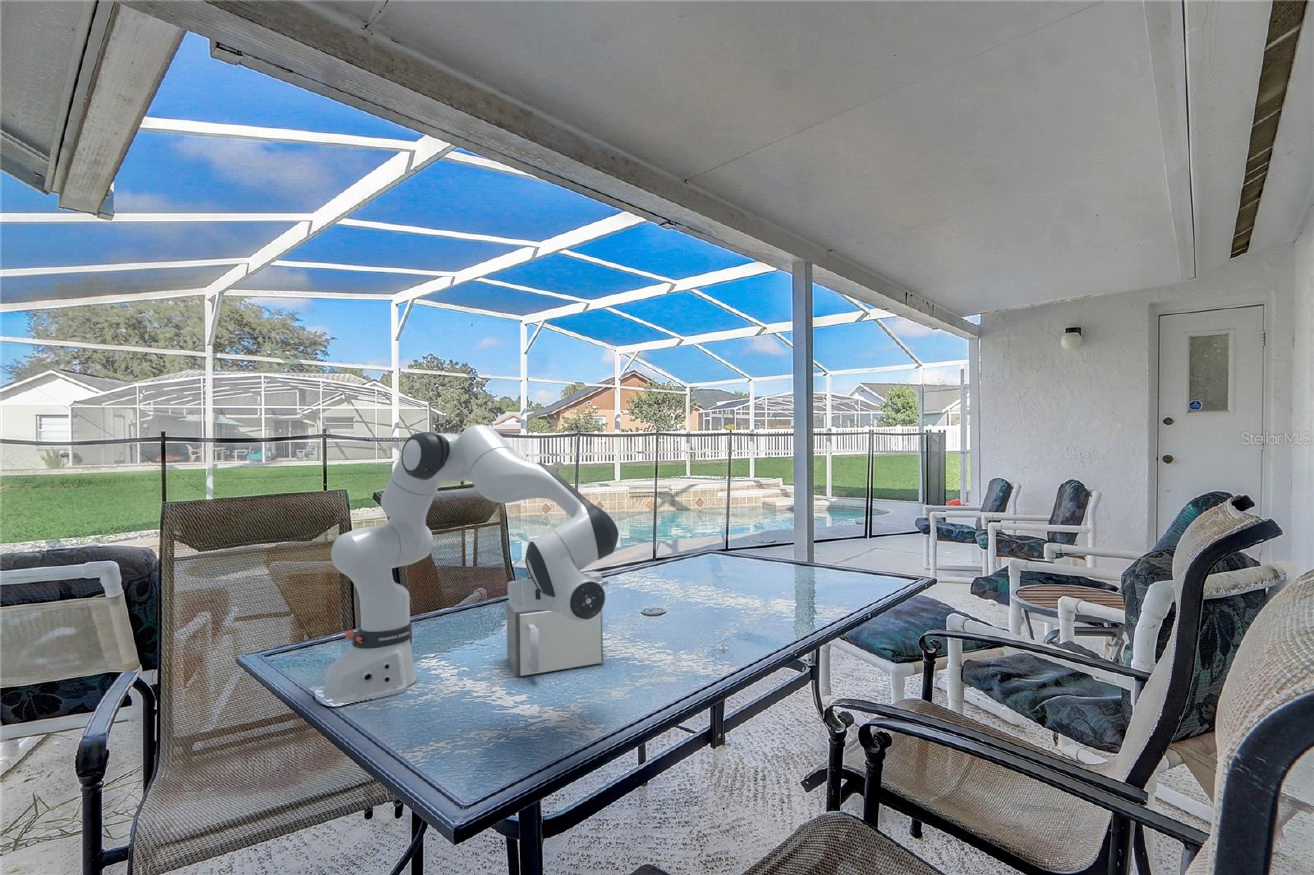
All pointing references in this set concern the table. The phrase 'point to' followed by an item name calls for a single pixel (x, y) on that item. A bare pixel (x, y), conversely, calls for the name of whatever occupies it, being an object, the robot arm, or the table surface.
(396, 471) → the robot arm
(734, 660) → the table surface
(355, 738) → the table surface
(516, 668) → the box
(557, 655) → the door
